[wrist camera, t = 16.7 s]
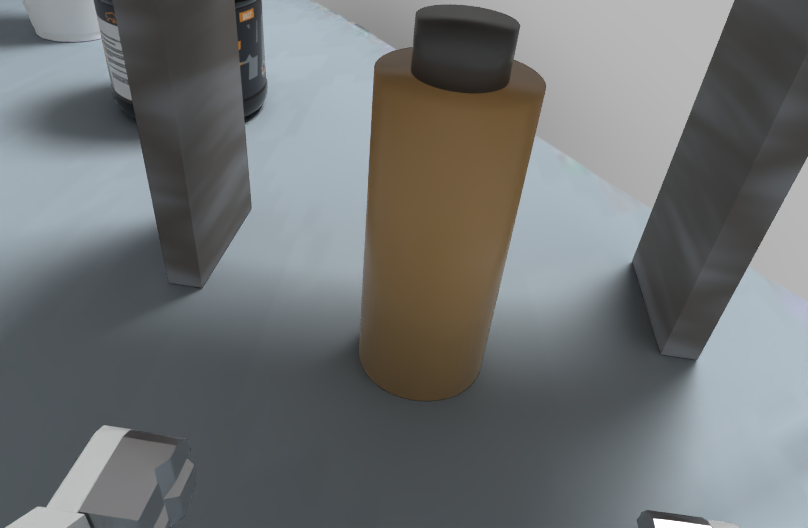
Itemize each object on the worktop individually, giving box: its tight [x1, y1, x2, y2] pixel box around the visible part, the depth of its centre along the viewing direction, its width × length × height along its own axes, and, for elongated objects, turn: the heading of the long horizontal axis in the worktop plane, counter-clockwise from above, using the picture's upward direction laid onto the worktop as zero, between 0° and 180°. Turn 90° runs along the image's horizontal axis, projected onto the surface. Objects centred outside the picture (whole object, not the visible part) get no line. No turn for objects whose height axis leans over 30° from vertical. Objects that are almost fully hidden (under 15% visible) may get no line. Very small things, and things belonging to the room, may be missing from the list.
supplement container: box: [93, 0, 268, 119], centre depth 40 cm, size 10×10×12 cm
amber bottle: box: [359, 5, 546, 401], centre depth 21 cm, size 5×5×14 cm
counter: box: [112, 0, 808, 360], centre depth 21 cm, size 24×14×20 cm, turn 83°
